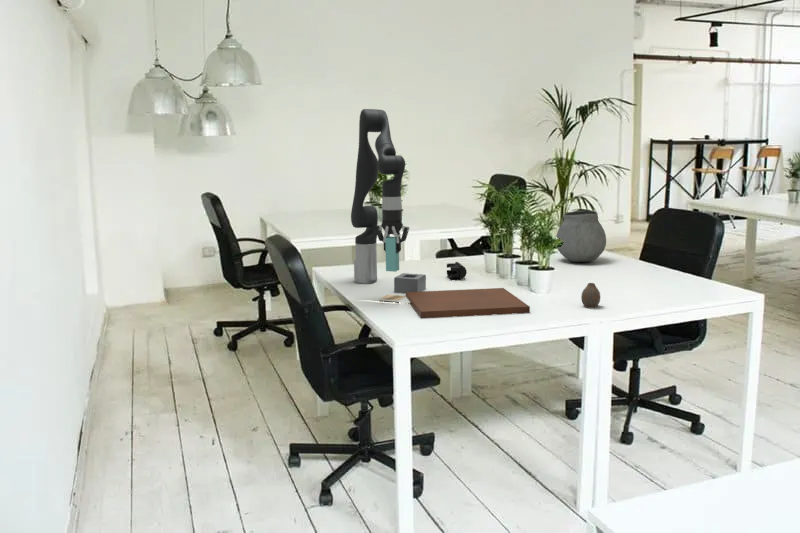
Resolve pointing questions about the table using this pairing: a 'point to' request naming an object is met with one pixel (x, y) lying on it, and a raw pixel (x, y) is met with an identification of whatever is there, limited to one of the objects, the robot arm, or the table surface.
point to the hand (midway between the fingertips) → (392, 252)
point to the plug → (391, 255)
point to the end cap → (456, 271)
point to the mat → (392, 298)
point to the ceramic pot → (581, 236)
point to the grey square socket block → (409, 283)
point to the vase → (590, 296)
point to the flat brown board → (465, 302)
